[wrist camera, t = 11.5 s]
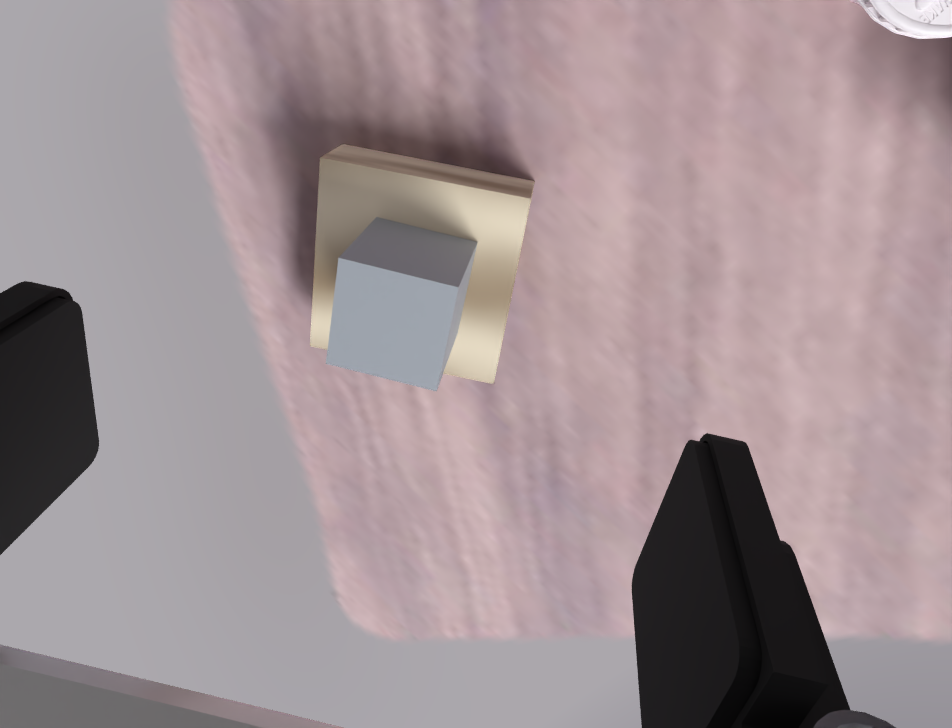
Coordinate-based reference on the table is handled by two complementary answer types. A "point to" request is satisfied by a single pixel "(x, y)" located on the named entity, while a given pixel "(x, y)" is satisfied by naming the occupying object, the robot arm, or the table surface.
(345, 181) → the maple block
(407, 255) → the grey block
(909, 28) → the smoothie
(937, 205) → the table surface
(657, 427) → the table surface
